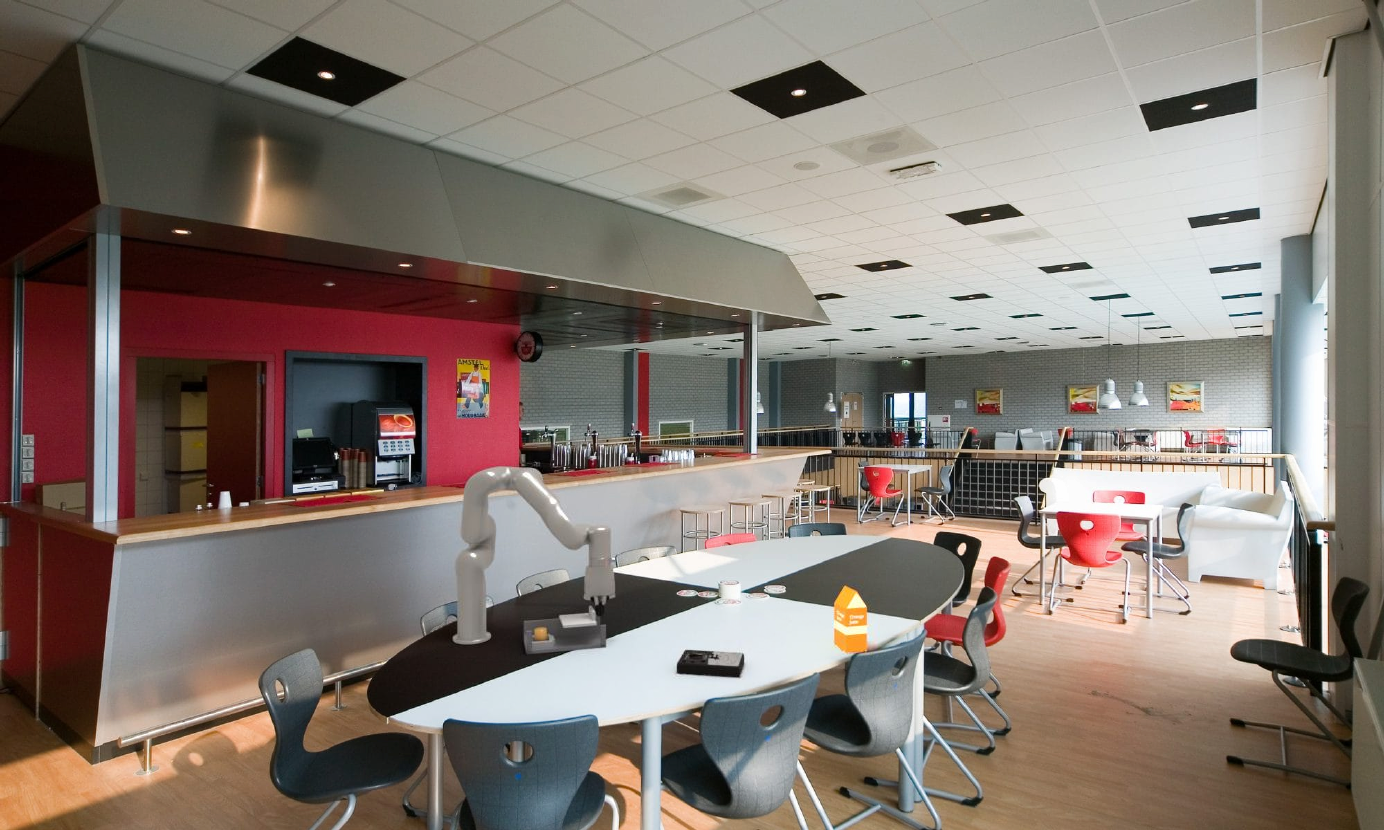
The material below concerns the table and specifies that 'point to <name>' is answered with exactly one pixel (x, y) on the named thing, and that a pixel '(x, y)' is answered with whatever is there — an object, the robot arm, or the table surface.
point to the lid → (579, 619)
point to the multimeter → (711, 663)
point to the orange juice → (850, 621)
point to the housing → (563, 636)
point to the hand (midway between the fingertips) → (599, 615)
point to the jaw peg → (540, 634)
